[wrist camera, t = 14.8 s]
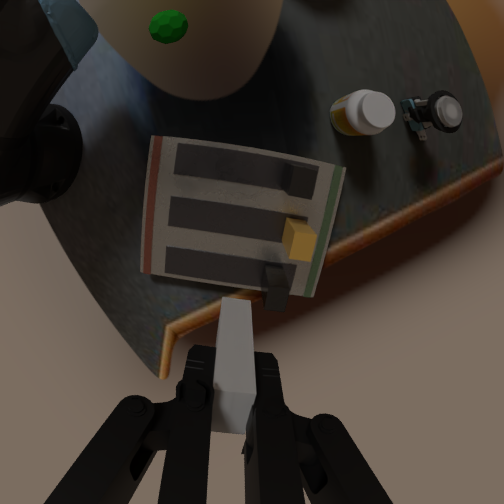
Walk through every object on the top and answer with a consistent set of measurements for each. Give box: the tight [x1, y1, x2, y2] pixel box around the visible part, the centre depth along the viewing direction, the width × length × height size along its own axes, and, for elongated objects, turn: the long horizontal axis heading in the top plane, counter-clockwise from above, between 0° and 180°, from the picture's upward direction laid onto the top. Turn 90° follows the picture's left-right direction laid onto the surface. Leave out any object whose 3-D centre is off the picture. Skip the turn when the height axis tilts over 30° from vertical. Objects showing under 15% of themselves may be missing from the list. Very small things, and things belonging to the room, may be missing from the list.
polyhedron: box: [149, 10, 188, 44], centre depth 27 cm, size 5×5×5 cm
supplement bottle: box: [330, 90, 395, 136], centre depth 30 cm, size 5×5×10 cm
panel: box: [140, 135, 346, 312], centre depth 34 cm, size 24×18×10 cm
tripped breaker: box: [282, 217, 317, 262], centre depth 33 cm, size 2×3×6 cm
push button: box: [401, 90, 462, 140], centre depth 29 cm, size 7×5×10 cm
